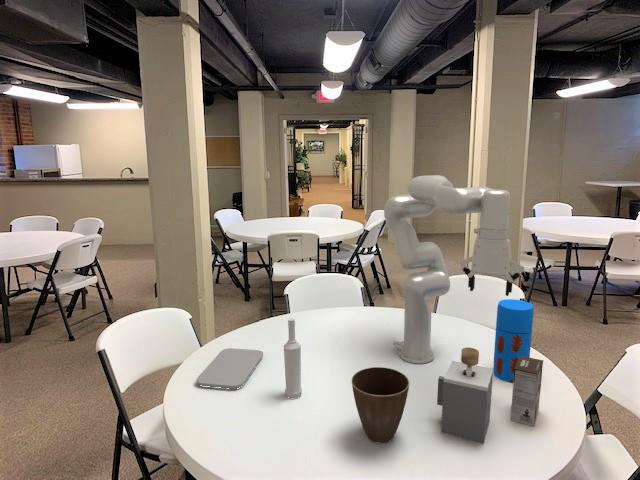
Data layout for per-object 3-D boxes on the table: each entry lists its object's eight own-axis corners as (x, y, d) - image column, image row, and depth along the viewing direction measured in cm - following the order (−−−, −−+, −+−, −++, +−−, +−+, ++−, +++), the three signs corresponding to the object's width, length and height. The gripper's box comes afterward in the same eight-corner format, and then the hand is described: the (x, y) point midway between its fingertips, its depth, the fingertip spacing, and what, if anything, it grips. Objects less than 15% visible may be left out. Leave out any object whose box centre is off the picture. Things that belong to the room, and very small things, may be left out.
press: (432, 429, 124) (434, 376, 121) (441, 409, 134) (443, 358, 130) (483, 444, 118) (487, 387, 115) (489, 421, 127) (493, 368, 124)
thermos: (531, 384, 147) (537, 311, 141) (496, 381, 149) (501, 309, 144) (523, 368, 157) (529, 299, 152) (490, 366, 159) (495, 298, 154)
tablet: (193, 388, 148) (193, 382, 147) (224, 353, 173) (224, 347, 172) (241, 393, 145) (240, 386, 144) (265, 356, 170) (265, 350, 169)
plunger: (449, 418, 123) (452, 354, 119) (455, 404, 130) (458, 343, 126) (478, 426, 119) (483, 360, 116) (483, 411, 126) (487, 348, 122)
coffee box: (515, 404, 136) (519, 354, 132) (539, 410, 132) (543, 359, 129) (509, 420, 128) (514, 367, 125) (534, 427, 125) (539, 373, 121)
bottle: (304, 392, 144) (302, 317, 139) (298, 400, 139) (296, 323, 134) (289, 389, 146) (286, 315, 141) (282, 397, 141) (280, 321, 136)
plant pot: (368, 459, 113) (369, 401, 109) (342, 426, 126) (341, 373, 123) (418, 443, 118) (420, 387, 115) (388, 413, 132) (389, 362, 129)
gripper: (459, 233, 128) (456, 291, 132) (526, 239, 121) (521, 300, 124) (464, 229, 135) (461, 284, 138) (527, 234, 127) (523, 292, 131)
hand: (489, 292), depth 131 cm, fingers open, 9 cm apart
